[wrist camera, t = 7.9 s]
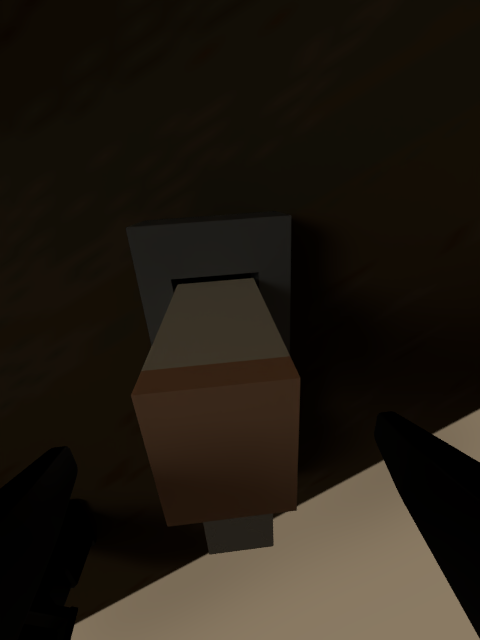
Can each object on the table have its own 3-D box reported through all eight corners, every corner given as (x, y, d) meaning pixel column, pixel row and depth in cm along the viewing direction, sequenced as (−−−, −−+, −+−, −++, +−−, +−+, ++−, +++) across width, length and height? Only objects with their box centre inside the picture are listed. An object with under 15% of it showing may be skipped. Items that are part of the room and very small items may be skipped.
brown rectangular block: (190, 364, 17) (167, 526, 9) (177, 284, 15) (130, 395, 7) (257, 358, 17) (296, 510, 9) (253, 277, 15) (300, 378, 7)
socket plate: (192, 471, 26) (189, 516, 22) (144, 220, 17) (125, 227, 13) (278, 461, 26) (288, 503, 23) (275, 211, 17) (291, 215, 14)
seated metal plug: (210, 448, 25) (209, 554, 17) (204, 403, 23) (199, 501, 15) (256, 442, 25) (273, 545, 17) (253, 397, 23) (272, 493, 15)
